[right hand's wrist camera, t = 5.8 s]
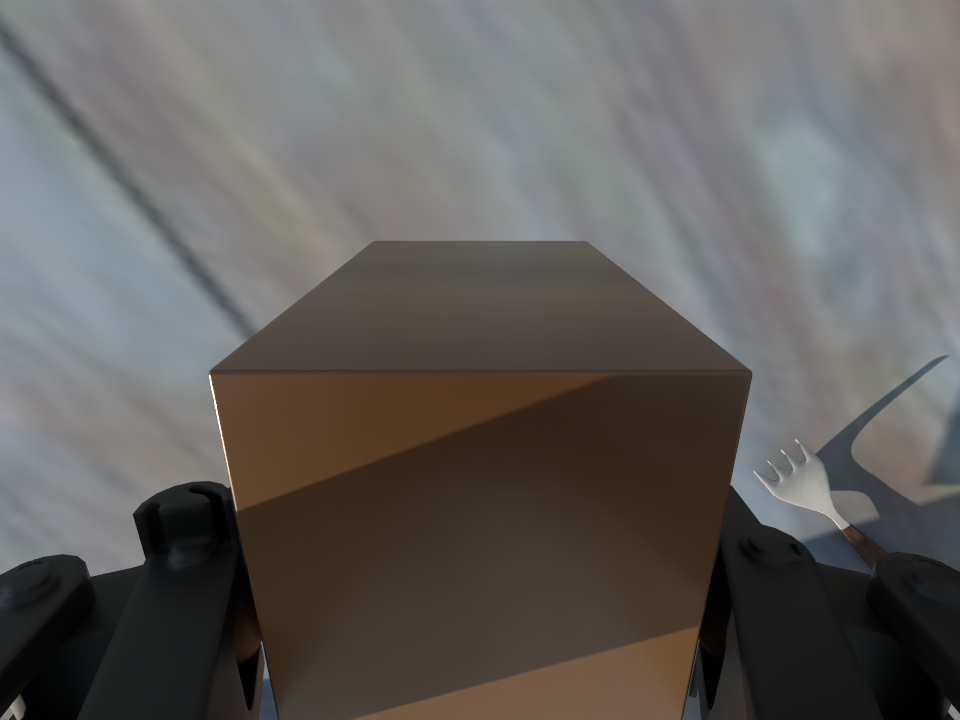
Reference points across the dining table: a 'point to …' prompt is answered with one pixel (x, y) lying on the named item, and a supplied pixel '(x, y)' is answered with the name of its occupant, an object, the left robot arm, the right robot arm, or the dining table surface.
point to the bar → (480, 486)
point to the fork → (817, 497)
